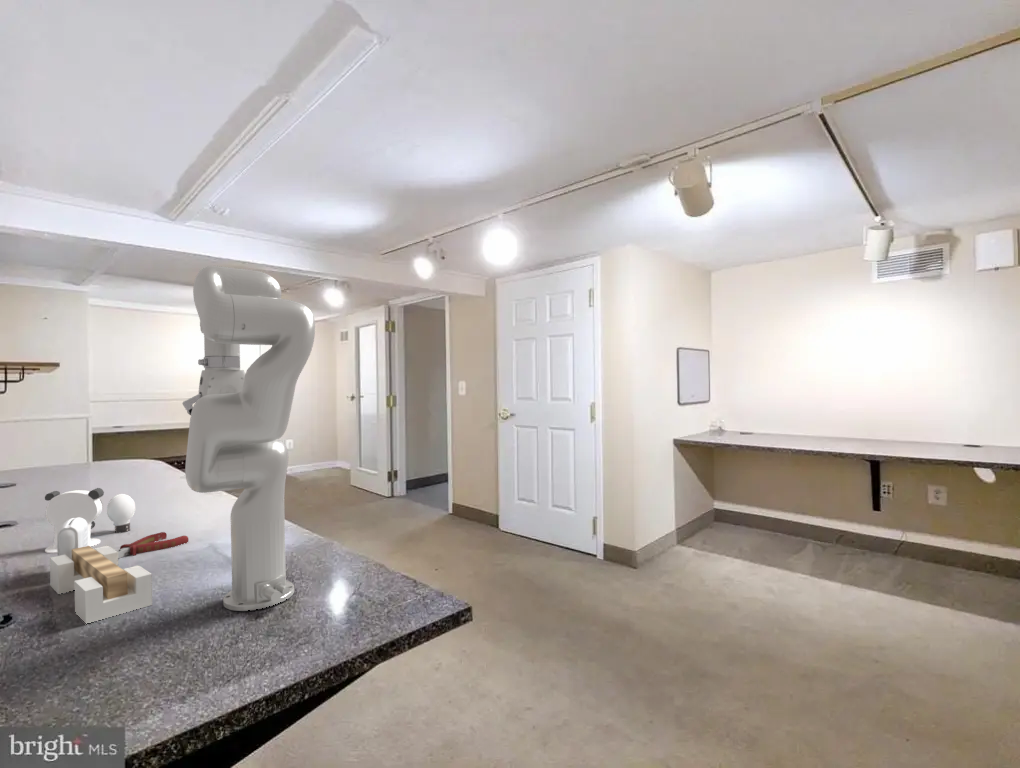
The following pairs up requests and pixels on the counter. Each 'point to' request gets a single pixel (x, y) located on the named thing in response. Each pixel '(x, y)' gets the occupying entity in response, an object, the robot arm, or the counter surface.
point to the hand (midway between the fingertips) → (224, 434)
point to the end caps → (100, 588)
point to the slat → (100, 571)
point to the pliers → (150, 544)
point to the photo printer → (72, 536)
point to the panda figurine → (73, 510)
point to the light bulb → (121, 511)
